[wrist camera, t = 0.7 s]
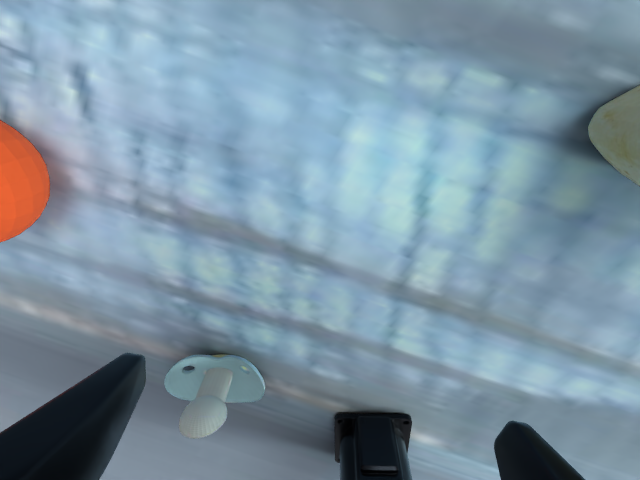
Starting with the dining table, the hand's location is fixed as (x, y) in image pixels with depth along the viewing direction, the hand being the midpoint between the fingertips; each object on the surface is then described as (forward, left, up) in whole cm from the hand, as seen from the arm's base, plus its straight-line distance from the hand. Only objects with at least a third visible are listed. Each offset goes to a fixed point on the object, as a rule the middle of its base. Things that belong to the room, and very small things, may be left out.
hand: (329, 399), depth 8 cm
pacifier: (-14, +9, -14) cm, 21 cm away
